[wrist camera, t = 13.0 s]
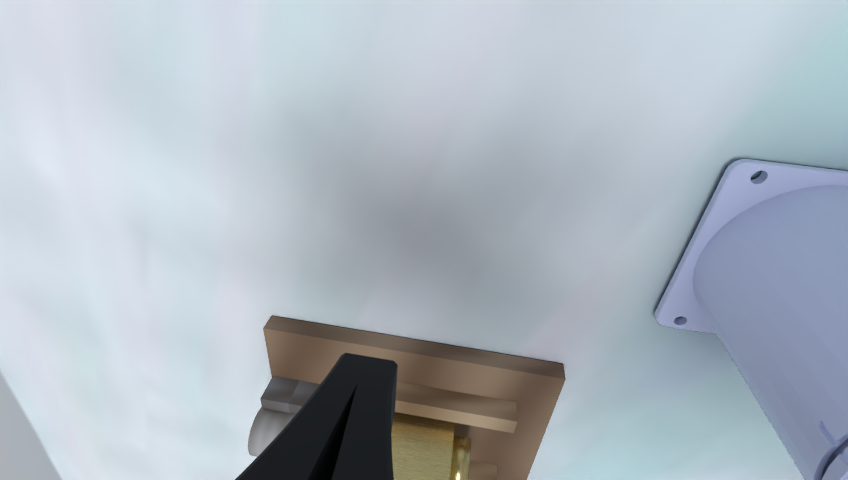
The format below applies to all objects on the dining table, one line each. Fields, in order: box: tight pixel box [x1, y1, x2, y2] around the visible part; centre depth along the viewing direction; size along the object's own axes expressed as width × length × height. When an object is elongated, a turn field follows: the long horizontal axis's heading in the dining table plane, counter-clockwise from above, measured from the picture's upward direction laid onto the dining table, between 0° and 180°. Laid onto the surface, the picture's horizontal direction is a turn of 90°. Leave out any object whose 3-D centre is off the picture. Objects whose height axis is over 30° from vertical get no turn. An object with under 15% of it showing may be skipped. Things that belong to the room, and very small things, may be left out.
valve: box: [391, 412, 471, 480], centre depth 23 cm, size 8×4×6 cm, turn 86°
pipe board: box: [248, 316, 565, 480], centre depth 24 cm, size 16×12×5 cm
